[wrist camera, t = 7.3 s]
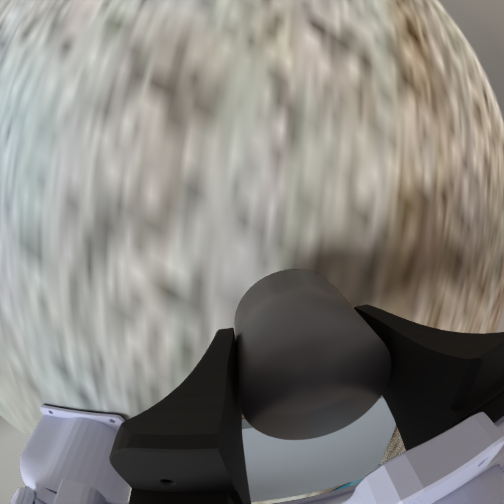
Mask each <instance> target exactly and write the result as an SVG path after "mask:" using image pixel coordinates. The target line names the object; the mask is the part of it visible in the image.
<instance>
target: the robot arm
mask: <svg viewBox="0 0 504 504" xmlns="http://www.w3.org/2000/svg"><path fill="white" fill-rule="evenodd" d="M354 309H355V310H356V311H357V312H358V314H359V315H360V316H361V317H362V318H363V319H364V320H365V322H366V323H367V324H368V325H369V326H370V327H371V328H372V329H373V331H374V332H375V333H376V334H377V335H378V336H379V338H380V339H381V340H382V341H383V342H384V344H385V345H386V346H387V348H388V350H389V353H390V356H391V364H392V368H391V375H390V378H389V382H388V384H387V386H386V388H385V390H384V392H383V394H382V396H383V398H384V399H385V401H386V403H387V405H388V407H389V409H390V411H391V414H392V416H393V418H394V420H395V423H396V425H397V427H398V430H399V432H400V435H401V438H402V440H403V443H404V446H405V449H406V452H403V453H401V454H399V455H397V456H396V457H394V458H392V459H390V460H388V461H386V462H384V463H382V464H381V465H379V466H378V467H377V468H375V469H374V470H372V471H371V472H369V473H368V474H367V475H366V476H365V477H364V478H363V479H362V480H361V481H360V483H359V484H356V485H352V486H349V487H346V488H343V489H339V490H336V491H332V492H328V493H324V494H320V495H316V496H312V497H307V498H302V499H297V500H292V501H286V502H280V503H273V504H504V332H500V333H487V334H472V333H459V332H451V331H445V330H440V329H436V328H432V327H428V326H424V325H421V324H418V323H415V322H412V321H409V320H406V319H404V318H401V317H398V316H396V315H393V314H391V313H388V312H386V311H384V310H381V309H378V308H376V307H373V306H370V305H362V306H357V307H354ZM40 410H41V412H42V413H43V414H44V415H43V416H42V418H41V420H40V421H39V423H38V425H37V427H36V428H35V430H34V432H33V434H32V436H31V437H30V439H29V441H28V443H27V445H26V447H25V449H24V451H23V453H22V455H21V460H20V471H21V476H22V478H23V480H24V482H25V484H26V487H19V488H18V489H17V491H16V492H15V494H14V496H13V498H12V500H11V502H10V504H251V499H250V492H249V485H248V478H247V471H246V463H245V455H244V446H243V437H242V411H241V407H240V397H239V384H238V370H237V354H236V340H235V334H234V329H233V328H228V329H220V330H218V331H217V333H216V335H215V337H214V339H213V341H212V342H211V344H210V346H209V348H208V349H207V351H206V353H205V354H204V356H203V357H202V359H201V360H200V362H199V363H198V364H197V366H196V367H195V368H194V370H193V371H192V372H191V373H190V375H189V376H188V377H187V378H186V379H185V380H184V381H183V382H182V383H181V384H180V385H179V386H178V387H177V388H176V389H175V390H174V391H172V392H171V393H170V394H169V395H168V396H167V397H165V398H164V399H163V400H161V401H160V402H158V403H157V404H156V405H154V406H152V407H151V408H149V409H148V410H146V411H144V412H143V413H141V414H139V415H137V416H135V417H133V418H131V419H129V420H127V421H125V420H124V419H123V418H122V417H121V416H119V415H113V414H101V413H92V412H83V411H76V410H69V409H63V408H57V407H51V406H46V405H41V406H40ZM130 487H131V488H132V490H131V496H130V501H129V502H127V501H128V496H129V491H130Z"/></svg>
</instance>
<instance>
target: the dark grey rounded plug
mask: <svg viewBox="0 0 504 504" xmlns="http://www.w3.org/2000/svg"><path fill="white" fill-rule="evenodd" d="M234 324H235V340H236V354H237V370H238V384H239V397H240V407H241V411H242V414H243V416H244V417H245V419H246V421H247V422H248V423H249V424H250V425H251V426H252V427H253V428H255V429H256V430H257V431H259V432H261V433H263V434H265V435H267V436H270V437H274V438H278V439H283V440H306V439H313V438H318V437H322V436H325V435H328V434H331V433H334V432H336V431H338V430H341V429H343V428H345V427H346V426H348V425H350V424H352V423H353V422H355V421H356V420H358V419H359V418H360V417H362V416H363V415H364V414H365V413H366V412H367V411H368V410H370V409H371V408H372V406H373V405H374V404H375V403H376V402H377V401H378V399H379V398H380V397H381V395H382V394H383V392H384V390H385V388H386V386H387V384H388V382H389V378H390V375H391V368H392V364H391V356H390V353H389V350H388V348H387V346H386V345H385V344H384V342H383V341H382V340H381V339H380V338H379V336H378V335H377V334H376V333H375V332H374V331H373V329H372V328H371V327H370V326H369V325H368V324H367V323H366V322H365V320H364V319H363V318H362V317H361V316H360V315H359V314H358V312H357V311H356V310H355V309H354V308H353V307H352V306H351V305H350V304H349V302H348V301H347V300H346V299H345V298H344V297H343V296H342V295H341V294H340V292H339V291H338V290H337V289H336V288H335V287H334V286H333V285H332V284H331V283H330V282H329V281H328V280H327V279H326V278H324V277H323V276H321V275H319V274H317V273H314V272H311V271H307V270H300V269H291V270H284V271H279V272H276V273H273V274H271V275H268V276H266V277H264V278H263V279H261V280H260V281H258V282H257V283H255V284H254V285H253V286H252V287H251V288H250V289H249V290H248V291H247V292H246V293H245V295H244V296H243V298H242V299H241V301H240V303H239V305H238V308H237V310H236V314H235V323H234Z"/></svg>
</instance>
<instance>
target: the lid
mask: <svg viewBox="0 0 504 504" xmlns="http://www.w3.org/2000/svg"><path fill="white" fill-rule="evenodd" d="M395 427H396V423H395V420H394V418H393V416H392V414H391V411H390V409H389V407H388V405H387V403H386V401H385V399H384V398H383V396H382V395H381V397H380V398H379V399H378V401H377V402H376V403H375V404H374V405H373V406H372V408H371V409H370V410H368V411H367V412H366V413H365V414H364V415H363V416H362V417H360V418H359V419H358V420H356V421H355V422H353V423H352V424H350V425H348V426H346V427H345V428H343V429H341V430H338V431H336V432H334V433H331V434H328V435H325V436H322V437H318V438H313V439H306V440H283V439H278V438H274V437H270V436H267V435H265V434H263V433H261V432H259V431H257V430H256V429H255V428H253V427H252V426H251V425H250V424H249V423H248V422H247V421H246V419H242V437H243V446H244V455H245V463H246V471H247V478H248V485H249V492H250V499H251V502H257V501H266V500H273V499H280V498H286V497H292V496H297V495H302V494H307V493H312V492H316V491H320V490H324V489H328V488H332V487H336V486H339V485H343V484H346V483H349V482H353V481H356V480H359V479H362V478H364V477H365V476H366V475H367V474H368V473H369V472H371V471H372V470H374V469H375V468H377V467H378V466H379V465H380V462H381V460H382V458H383V456H384V454H385V451H386V449H387V447H388V444H389V442H390V440H391V437H392V435H393V432H394V430H395Z"/></svg>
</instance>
